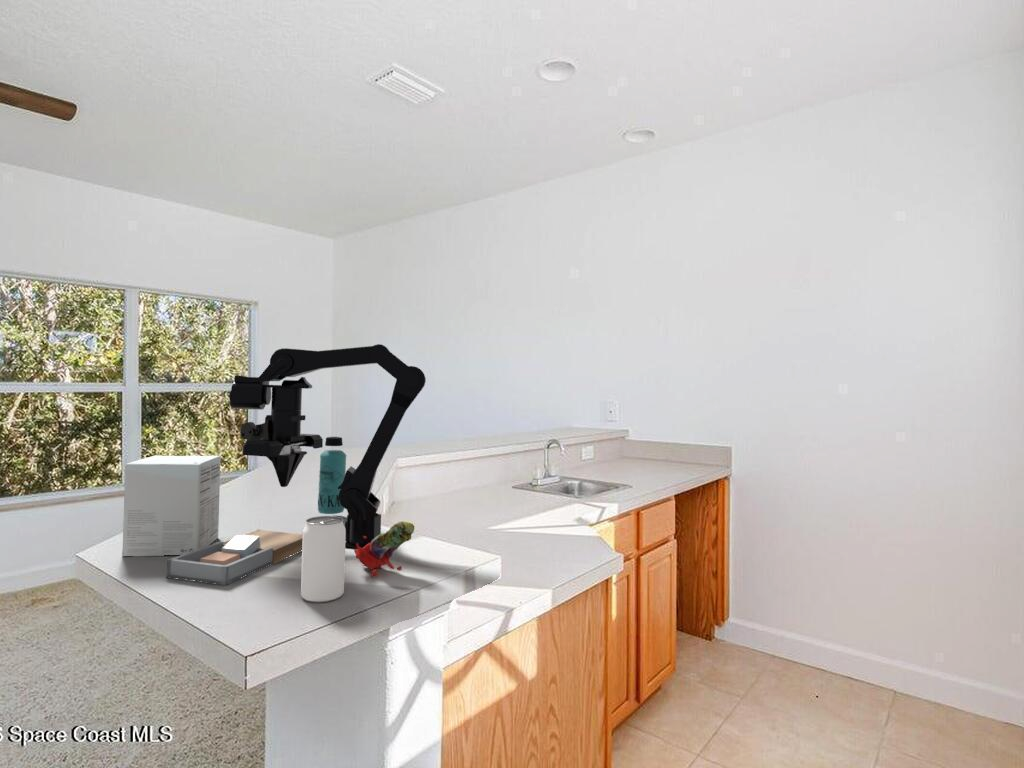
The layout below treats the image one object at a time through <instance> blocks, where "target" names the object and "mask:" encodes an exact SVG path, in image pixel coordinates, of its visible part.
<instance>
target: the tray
mask: <svg viewBox="0 0 1024 768" xmlns="http://www.w3.org/2000/svg"><path fill="white" fill-rule="evenodd" d="M223 542H224V541H218V542H215V543H214V542H213V543H211V544H210V545H208V546H206V547H203V548H200V549H197V550H194V551H191V552H188V553H186V554H183V555H180V556H173V557H172V558H169V559H167V560H166V578H167V577H170V578H169V579H172V578H178V579H177V580H179V579H187V580H195V581H202V582H207V583H206V584H210V583H216V584H215V585H217V584H222V585H221V586H228V585H229V584H228V583H230V584H232V583H234V582H236V581H238V580H237V579H239V578H241V577H243V576H245V575H247V576H249V575H248V574H250V573H252V572H254V571H256V572H258V571H260V570H262V569H261V568H263V569H265V568H267V567H269V566H271V565H273V564H272V562H273V548H271V547H269V548H266V549H264V550H261V551H259V552H256V553H254V554H251V555H249V556H247V557H244V558H242V559H239V560H237V561H234V562H232V563H229V564H227V565H219V564H211V563H203V562H200V559H201V558H203V557H206V556H208V555H211V554H213V553H216V552H222V547H223ZM270 564H271V565H270ZM268 565H269V566H268ZM266 566H267V567H266ZM264 567H265V568H264ZM259 569H260V570H259ZM257 570H258V571H257ZM254 573H255V572H254ZM252 574H253V573H252ZM250 575H251V574H250ZM245 577H246V576H245ZM243 578H244V577H243ZM241 579H242V578H241ZM187 580H186V581H187ZM235 580H236V581H235ZM239 580H240V579H239ZM233 581H234V582H233ZM202 582H201V583H202ZM231 582H232V583H231ZM227 584H228V585H227Z"/></svg>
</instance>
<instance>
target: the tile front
mask: <svg viewBox="0 0 1024 768" xmlns="http://www.w3.org/2000/svg"><path fill="white" fill-rule="evenodd" d="M239 559H240V554H239V553H228V552H216V553H213V554H211V555H208V556H206V557H203V558H201V559H200V562H203V563H211V564H219V565H227V564H229V563H232V562H234V561H237V560H239Z"/></svg>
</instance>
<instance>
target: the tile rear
mask: <svg viewBox="0 0 1024 768" xmlns="http://www.w3.org/2000/svg"><path fill="white" fill-rule="evenodd" d="M243 535H244V534H243ZM243 535H241V534H240V535H239V534H238V535H237V534H236V535H235V536H234V537H233V538H232V539H230V540H231V541H230V542H228V543H227V544H226V545H225V546H224V547H222V552H228V553H239V554H240V559H242V558H244V557H247V556H249V555H251V554H253V553H254V552H255V551H256V550H257V549H258V548H259V547H260V546H261V545H260V539H259V536H243Z"/></svg>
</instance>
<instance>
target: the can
mask: <svg viewBox="0 0 1024 768" xmlns="http://www.w3.org/2000/svg"><path fill="white" fill-rule="evenodd" d="M305 523H306V524H305V525H304V527H303V531H302V534H303V541H302V551H301V552H302V553H301V573H300V574H301V577H300V579H301V582H300V584H301V585H300V586H301V587H300V596H301V598H302V599H303V600H304V601H306V602H308V603H313V604H314V603H315V604H316V603H318V604H319V603H329V602H333V601H337V600H339V599H340V598H341V597H342V596H343V594H344V592H345V575H346V574H345V570H346V569H345V568H346V565H345V564H346V547H345V539H346V529H345V523H344V518H343V517H341V516H337V515H336V516H335V515H320V516H315V517H314V516H312V517H310V518H307V519H306V520H305Z"/></svg>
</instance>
